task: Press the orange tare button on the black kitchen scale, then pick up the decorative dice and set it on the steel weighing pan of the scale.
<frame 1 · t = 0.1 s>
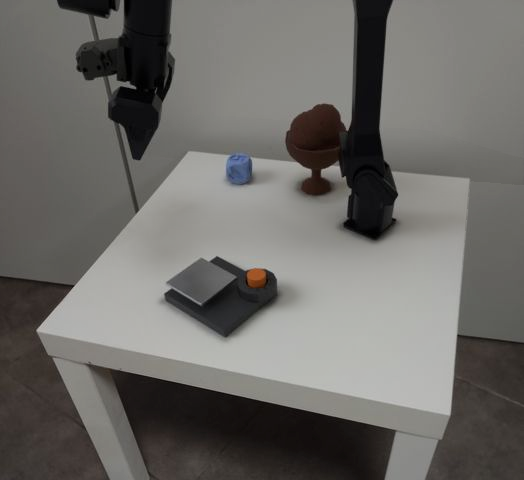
hand: (141, 143, 79), 15 cm above the table, tool pointing down, fingers open, 9 cm apart
decorative dice: (240, 179, 101), on the table
tare button: (256, 278, 76), point 3 cm above the table, slide at 0.1 cm
scale pan: (201, 281, 77), resting on scale
ice cream bowl: (315, 188, 98), on the table
scale: (221, 297, 79), on the table
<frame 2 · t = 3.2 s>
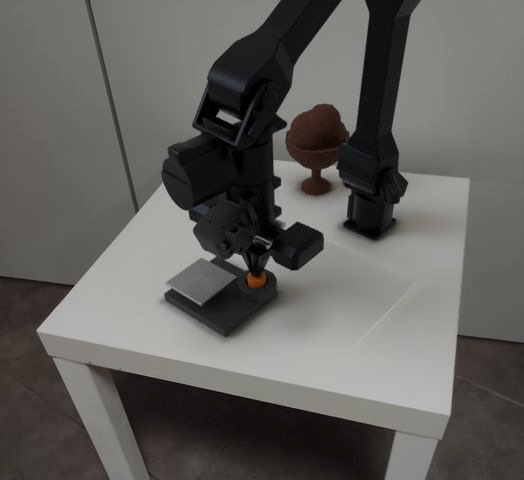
hand: (256, 276, 76), 4 cm above the table, tool pointing down, fingers closed, pressing on tare button
tare button: (256, 280, 76), point 3 cm above the table, slide at -0.2 cm, touching gripper
everything else where it was.
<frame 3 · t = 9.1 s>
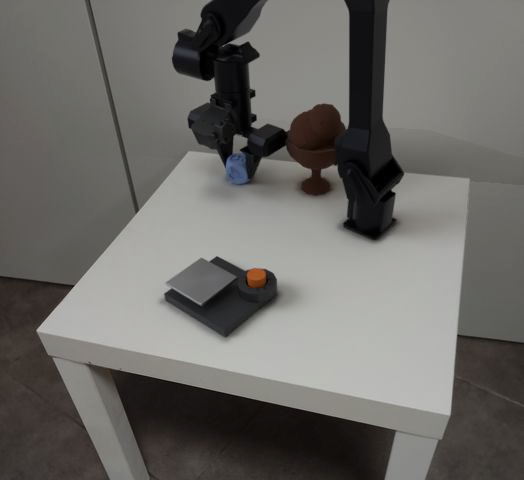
hand: (239, 173, 100), 1 cm above the table, tool pointing down, fingers closed on decorative dice, 5 cm apart
decorative dice: (240, 179, 101), on the table, touching gripper
tare button: (256, 278, 76), point 3 cm above the table, slide at 0.1 cm
everything else where it was.
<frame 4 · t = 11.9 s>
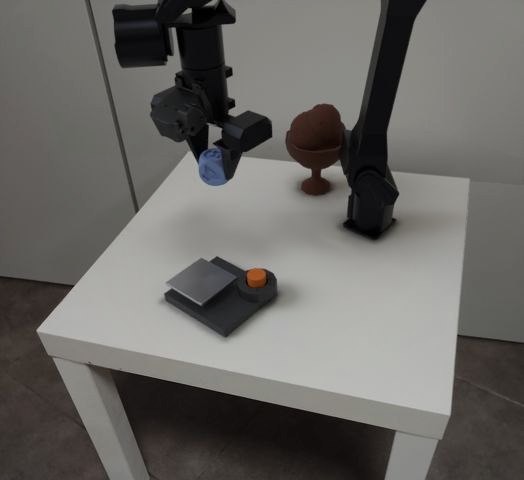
hand: (216, 173, 81), 11 cm above the table, tool pointing down, fingers closed on decorative dice, 5 cm apart
decorative dice: (217, 180, 82), point 10 cm above the table, touching gripper
everything else where it was.
when the fingers open (4 cm above the table, at t = 15.0 s): decorative dice stays where it is, resting on scale pan.
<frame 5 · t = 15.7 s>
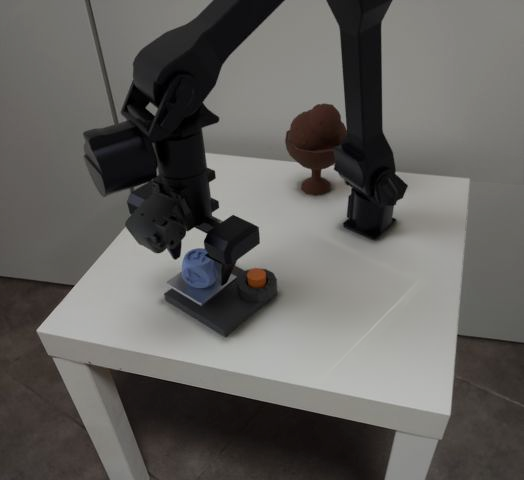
hand: (199, 270, 75), 5 cm above the table, tool pointing down, fingers open, 9 cm apart
decorative dice: (202, 280, 77), point 3 cm above the table, touching scale pan
everything else where it was.
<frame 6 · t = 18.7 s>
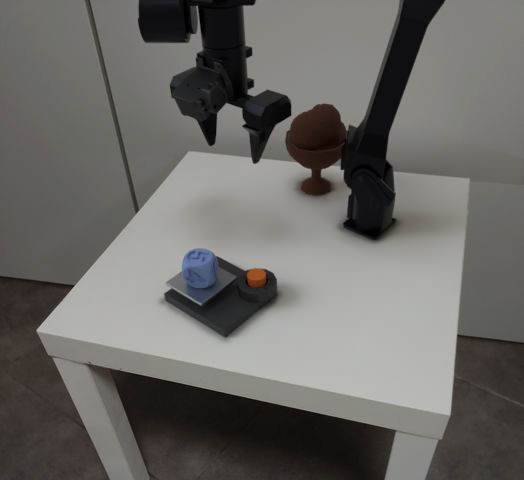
hand: (233, 153, 83), 12 cm above the table, tool pointing down, fingers open, 9 cm apart
nothing on the table moved.
at the end: tare button pushed in 0.9 cm at the most during the clip, back to where it started at the end; tare button slide at 0.1 cm; decorative dice 0.1 cm off-centre on the scale pan, point 0.2 cm above the scale pan's base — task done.
